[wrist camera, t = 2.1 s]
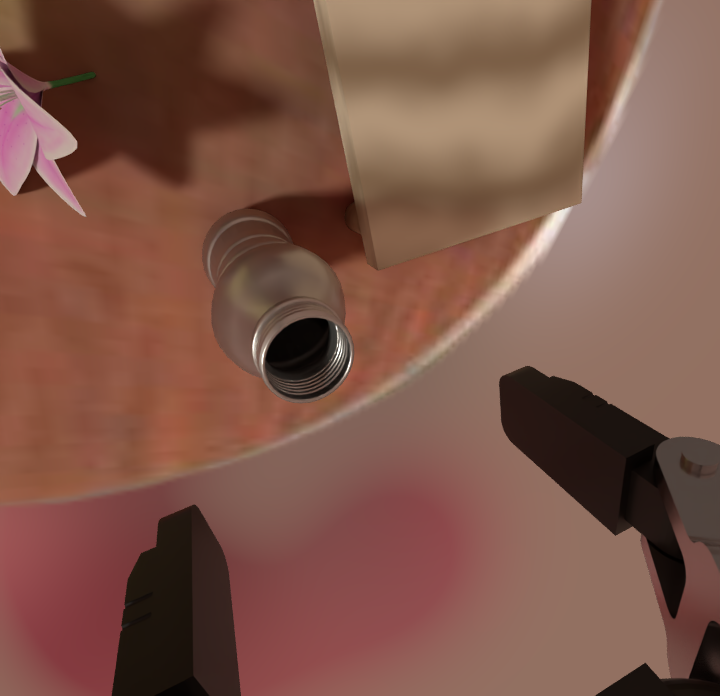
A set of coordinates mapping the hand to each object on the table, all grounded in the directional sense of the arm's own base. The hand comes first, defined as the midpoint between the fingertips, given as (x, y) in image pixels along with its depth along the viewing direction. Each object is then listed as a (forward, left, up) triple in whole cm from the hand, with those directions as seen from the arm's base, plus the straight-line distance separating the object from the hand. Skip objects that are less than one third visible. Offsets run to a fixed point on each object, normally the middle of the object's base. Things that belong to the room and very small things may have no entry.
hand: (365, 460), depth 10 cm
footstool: (-9, +16, -26) cm, 32 cm away
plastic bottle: (0, 0, -26) cm, 26 cm away
